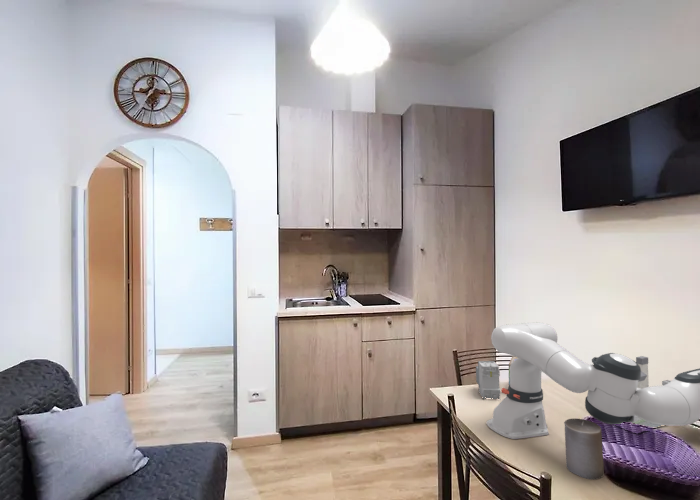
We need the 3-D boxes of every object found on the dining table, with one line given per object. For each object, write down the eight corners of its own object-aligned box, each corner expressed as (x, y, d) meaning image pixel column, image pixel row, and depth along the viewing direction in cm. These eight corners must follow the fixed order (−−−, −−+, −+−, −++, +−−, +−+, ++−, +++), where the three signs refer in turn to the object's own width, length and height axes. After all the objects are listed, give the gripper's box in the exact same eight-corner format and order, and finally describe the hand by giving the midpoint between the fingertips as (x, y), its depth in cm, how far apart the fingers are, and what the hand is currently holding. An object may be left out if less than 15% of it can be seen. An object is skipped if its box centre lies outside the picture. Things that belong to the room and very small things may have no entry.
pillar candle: (596, 463, 115) (593, 415, 115) (609, 481, 105) (607, 429, 106) (561, 459, 117) (559, 413, 118) (571, 478, 108) (569, 427, 108)
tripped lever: (643, 404, 144) (642, 358, 144) (637, 402, 146) (636, 357, 146) (649, 402, 145) (648, 357, 145) (643, 400, 147) (642, 356, 147)
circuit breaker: (491, 388, 179) (490, 357, 179) (500, 399, 165) (499, 366, 165) (475, 388, 180) (474, 357, 180) (483, 399, 166) (482, 366, 166)
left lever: (618, 412, 138) (640, 376, 131) (612, 408, 140) (634, 372, 133) (624, 410, 140) (647, 375, 132) (619, 406, 142) (641, 371, 134)
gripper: (693, 409, 123) (647, 395, 135) (727, 399, 130) (680, 386, 143) (693, 390, 123) (646, 378, 136) (726, 381, 130) (679, 370, 143)
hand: (664, 382), depth 139 cm, fingers closed
